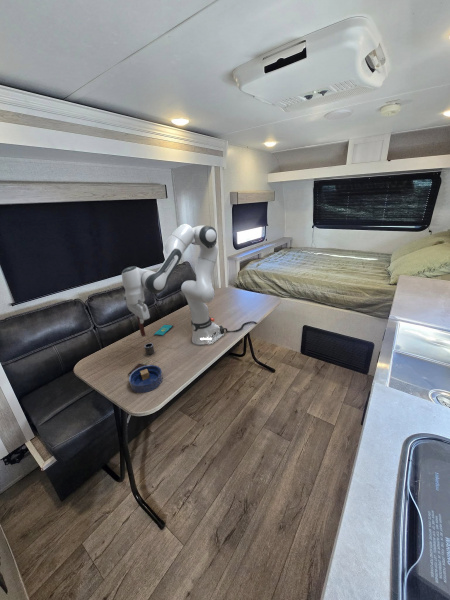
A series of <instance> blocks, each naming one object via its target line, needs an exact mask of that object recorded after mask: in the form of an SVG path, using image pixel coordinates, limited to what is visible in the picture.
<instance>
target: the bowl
mask: <svg viewBox="0 0 450 600" xmlns="http://www.w3.org/2000/svg"><path fill="white" fill-rule="evenodd" d="M145 365H146V366H143V367H140V368H138V369H136V370H135V371H133V372H132V373H131V375H129V377H128V383H129V386H130V389H131V390H132V392H134V393H136V394H137V393H138V394H144V393H149V392H151V391H153V390H156V389H157V388H158V387H159V386H160V385H161V384H162V383H163V379H164V376H163V371H162V368H161V367H160V366H158V365H155V364H148V365H147V364H145ZM145 369H147V370H148V372H149V377H150V378H148V379H145V380H142V377H141V373H140V371H142V370H145Z"/></svg>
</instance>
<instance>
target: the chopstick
mask: <svg viewBox="0 0 450 600" xmlns="http://www.w3.org/2000/svg"><path fill="white" fill-rule="evenodd" d="M137 319H138V321H137V323H138V328H139V333H140V336H141V337H146V330H145V326H144V323H142V324H141V323H140V322H139V320H140V318H139V317H138V316H137V318H136V320H137Z"/></svg>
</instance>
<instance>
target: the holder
mask: <svg viewBox="0 0 450 600" xmlns="http://www.w3.org/2000/svg"><path fill="white" fill-rule="evenodd" d="M143 347H144V352H145V355H146V356H149V357H150V356H152V355H154V354H155V346H154V343H152V342H148V343H146V344H144V346H143Z"/></svg>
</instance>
